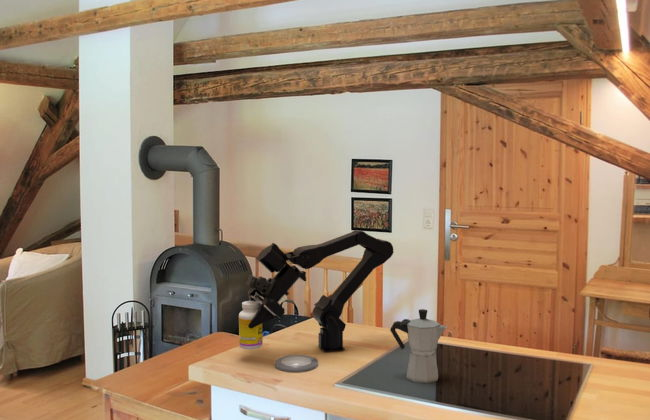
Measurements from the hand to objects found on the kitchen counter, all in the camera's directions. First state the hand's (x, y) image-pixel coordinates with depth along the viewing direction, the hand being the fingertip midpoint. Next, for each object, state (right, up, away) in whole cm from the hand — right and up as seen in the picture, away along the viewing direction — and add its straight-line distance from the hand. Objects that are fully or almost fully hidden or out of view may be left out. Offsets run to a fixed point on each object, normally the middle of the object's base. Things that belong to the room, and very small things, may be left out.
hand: (245, 324), depth 176 cm
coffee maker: (+47, -12, -13) cm, 50 cm away
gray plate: (+14, -11, -4) cm, 18 cm away
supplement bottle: (+1, -7, +1) cm, 7 cm away
